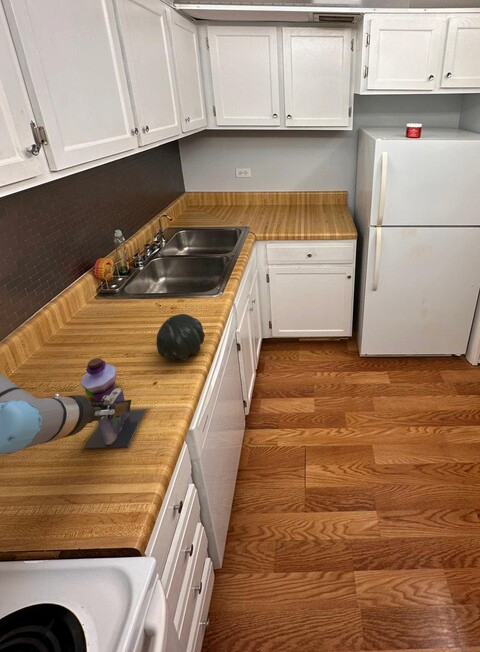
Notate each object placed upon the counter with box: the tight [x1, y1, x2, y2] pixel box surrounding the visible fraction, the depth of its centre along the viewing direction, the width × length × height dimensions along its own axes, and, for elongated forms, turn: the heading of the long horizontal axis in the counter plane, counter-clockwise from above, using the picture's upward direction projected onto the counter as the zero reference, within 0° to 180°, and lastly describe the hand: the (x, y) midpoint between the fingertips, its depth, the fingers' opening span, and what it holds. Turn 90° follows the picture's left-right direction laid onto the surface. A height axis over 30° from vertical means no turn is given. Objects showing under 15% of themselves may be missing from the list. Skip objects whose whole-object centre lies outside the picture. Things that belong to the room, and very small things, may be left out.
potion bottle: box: [80, 357, 117, 403], centre depth 92 cm, size 9×9×12 cm
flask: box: [97, 387, 129, 445], centre depth 82 cm, size 9×3×11 cm, turn 3°
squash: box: [156, 313, 206, 361], centre depth 108 cm, size 14×15×15 cm
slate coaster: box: [84, 409, 147, 450], centre depth 84 cm, size 10×10×1 cm
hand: (122, 405), depth 87 cm, fingers closed on flask, 3 cm apart
